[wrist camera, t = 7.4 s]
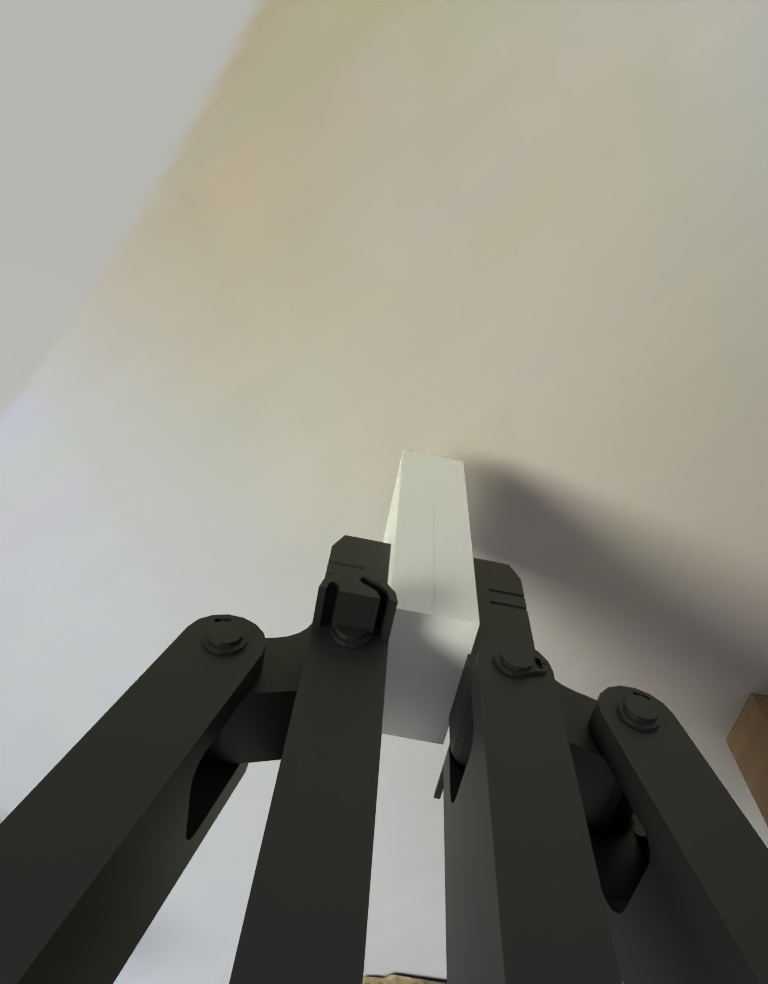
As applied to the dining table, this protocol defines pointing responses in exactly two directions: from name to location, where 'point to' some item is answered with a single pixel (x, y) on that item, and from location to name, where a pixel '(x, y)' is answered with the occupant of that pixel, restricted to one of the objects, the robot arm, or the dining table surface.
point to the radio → (398, 980)
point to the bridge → (753, 749)
